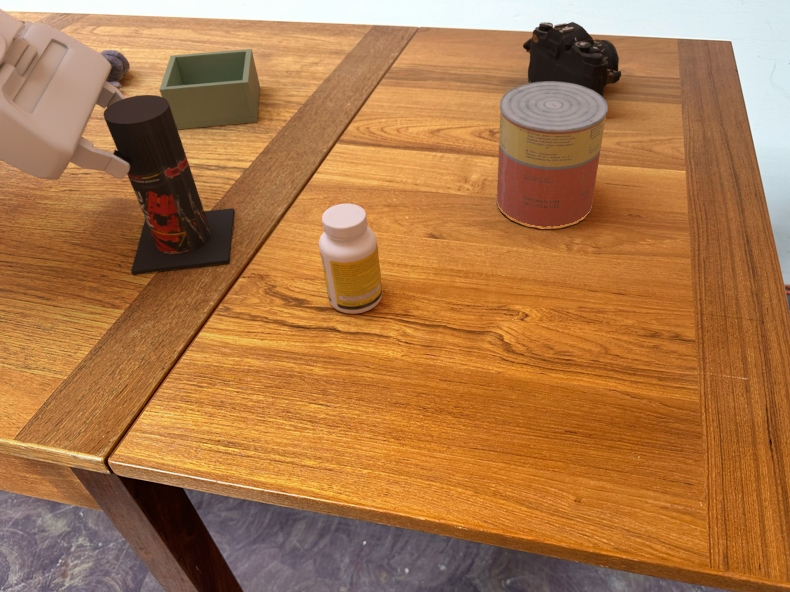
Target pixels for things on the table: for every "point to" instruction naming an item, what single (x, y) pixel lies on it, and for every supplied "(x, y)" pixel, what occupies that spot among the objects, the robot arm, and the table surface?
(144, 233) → the pad
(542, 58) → the film camera
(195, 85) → the bin
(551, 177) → the canned food
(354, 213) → the supplement bottle
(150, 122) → the deodorant
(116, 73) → the grey crumpled cloth
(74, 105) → the robot arm
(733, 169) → the table surface
